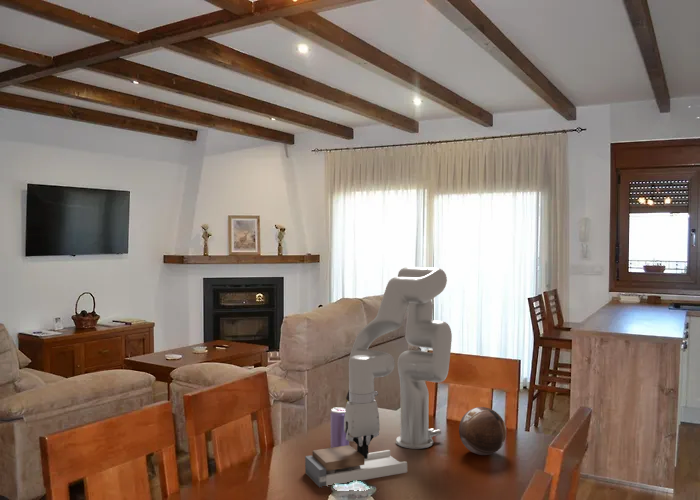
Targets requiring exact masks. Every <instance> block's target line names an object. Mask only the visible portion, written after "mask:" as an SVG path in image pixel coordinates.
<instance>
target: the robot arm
mask: <svg viewBox="0 0 700 500" xmlns="http://www.w3.org/2000/svg"><path fill="white" fill-rule="evenodd" d="M447 282H448V278H447V274H446V272H445V271H444V270H443V269H442V268H439V267H424V266H423V267H422V266H408V267H403V268H401V269H399V271H398V273H397V276H395V277H393V278H391V279H390V280H388V282H387V284H386V288H385V290H384V293H383V296H382V300H381V302H380V305H379V308H378V311H377V314H376V316H375V318H374V319H372V320H371V321H369V323H367V324H366V325H365V326H364V327H363V328H362V329H361V330H360V331H359V332H358V334H357V336H356V337H355V340H354V342H353V345H352V348H351V350H350V354H349V359H348V391H349V401H348V402H347V404H346V403H345V408H346V409H345V418H344V432H345V433H346V440H347V441H349V442H354V443H355V444H356V451H358V452H359V453H360V454H362V455H363V456H364V459H367V458H368V453H369V446H370V444H371V441H373V439H374V438H376V437H378V436H379V435H380V427H381V426H380V425H381V424H380V413H379V407H378V403H377V400H376V396H379V391H377V390H375V378H384V377H387V376H389V375H390V374H391V373H393V372H394V369H395V365H396V363H395V362H396V361H395V359H394V356H393V355H392V354H390V353H389V352H386V351H383V350H382V351H381V350H373V349H369V348H370V346H371V345H372V343H373V342H375V340H376V339H378V338H379V337H382V336H384V335H386V334H389V333H392V332H393V331H396V330H398V329H400V328H401V327H402V325H403V322H404V318H405V316H406V312H407V316H406V325H405V335H404V336H405V341H406V343H407V344H408V345H409V346H411V347H418V348H419V347H420V348H427V349H432V352H430V351H423V350H415V349H414V350H413V349H412V350H411V349H408V350H405V351H403V352H401V353H400V354H399V356H398V358H397V372H398V376H399V385H400V435H399V436H397V437H396V438H395V443H396V445H397V446H399V447H402V448H406V449H412V450H420V449H426V448H429V447H432V446H433V445H434V439H433V437H434V436H436V437H437V436H441V435H442V431H441V429H434V428H429V426H430V425H429V423H430V422H429V406H430V405H429V396H430V394H429V389H428V387H427V384H426V382H430V383H431V382H432V383H443V382H444V381H445V380H446V378H448V374H449V370H450V363H451V362H450V360H451V350H452V342H453V341H452V340H453V339H452V337H453V336H452V334H453V333H452V330H451V327H450V325H449V323H448V322H446V321H443V320H439V319H433V309H434V305H433V302H432V300H433V299H434V298H436V297H437V296H439V295H440V294H441V293H442V292H443V291H444V290H445V288H446V285H447Z"/></svg>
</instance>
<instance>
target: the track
mask: <svg viewBox="0 0 700 500" xmlns="http://www.w3.org/2000/svg"><path fill="white" fill-rule="evenodd" d="M304 459H305V460H304V461H305V463H304V465H305V466H304V469H305V471H304V472H305V474H306V476H308V477H309V479H311V481H313V483H315V485H317V487H319V488H320V487H321V488H323V487H322V486H327V487H329V486H328V485H332V484H333V483H344V484H348V483H347V482H349V483H351V482H350V481H352V480H361V481H367V480H371V479H377V478H381V477H382V478H384V477H389V476H393V475H399V474H406V473H408V462H407V461H406V460H405V461H399V460H398V459H396V458H394V457H393V456H391V450H390V449H385V450H380V451H374V452H368V458H367V459H364V465H360V468H361V469H356V470H351V469H350V468H349V467H348V468H342V469H336V470H335V473H333V474H326V468H325V467H324V466H323V465H321V464H320V463H319V462H318V461H317V460H316V459H315V458H314V457H313V454H312V455H305V456H304ZM332 486H333V485H332Z"/></svg>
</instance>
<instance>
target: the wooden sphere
mask: <svg viewBox="0 0 700 500" xmlns="http://www.w3.org/2000/svg"><path fill="white" fill-rule="evenodd" d="M458 426H459V427H458V433H459V439H460V440H461V443H462V445H464V447H465V448H466V449H467V450H468V451H470V452H471V453H473V454H476V455H479V456H489V455H493V454H494V453H496V452H498V451H499V450H500V449H501V448H502V447H503V446H504V443H505V441H506V438H507V427H506V423H505V422H504V419H503V417H501V415H500V414H499V413H498V412H497V411H495V410H493V409H492V408H489V407H486V406H478V407H473V408H471V409H469V410H468V411H466V412H465V413H464V415H463V416H462V418H461V420H460V422H459V425H458Z"/></svg>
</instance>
